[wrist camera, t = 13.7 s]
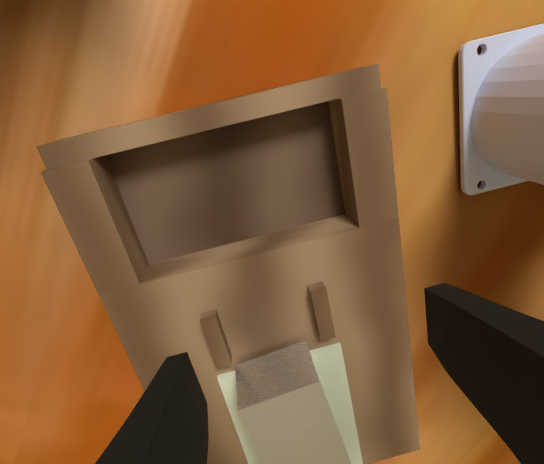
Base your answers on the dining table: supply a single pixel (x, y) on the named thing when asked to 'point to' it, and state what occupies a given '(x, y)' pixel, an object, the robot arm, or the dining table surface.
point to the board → (252, 242)
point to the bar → (288, 409)
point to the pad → (336, 391)
